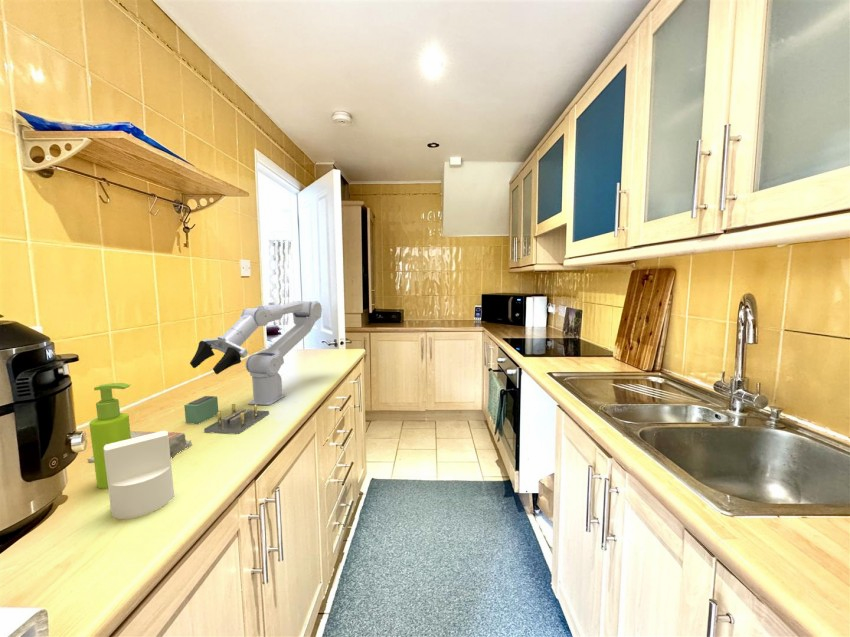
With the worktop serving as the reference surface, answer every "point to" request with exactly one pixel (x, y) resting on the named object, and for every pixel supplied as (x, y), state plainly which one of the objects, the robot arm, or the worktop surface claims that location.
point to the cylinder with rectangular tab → (139, 475)
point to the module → (201, 409)
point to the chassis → (236, 420)
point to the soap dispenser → (107, 428)
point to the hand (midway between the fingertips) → (203, 368)
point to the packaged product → (175, 442)
